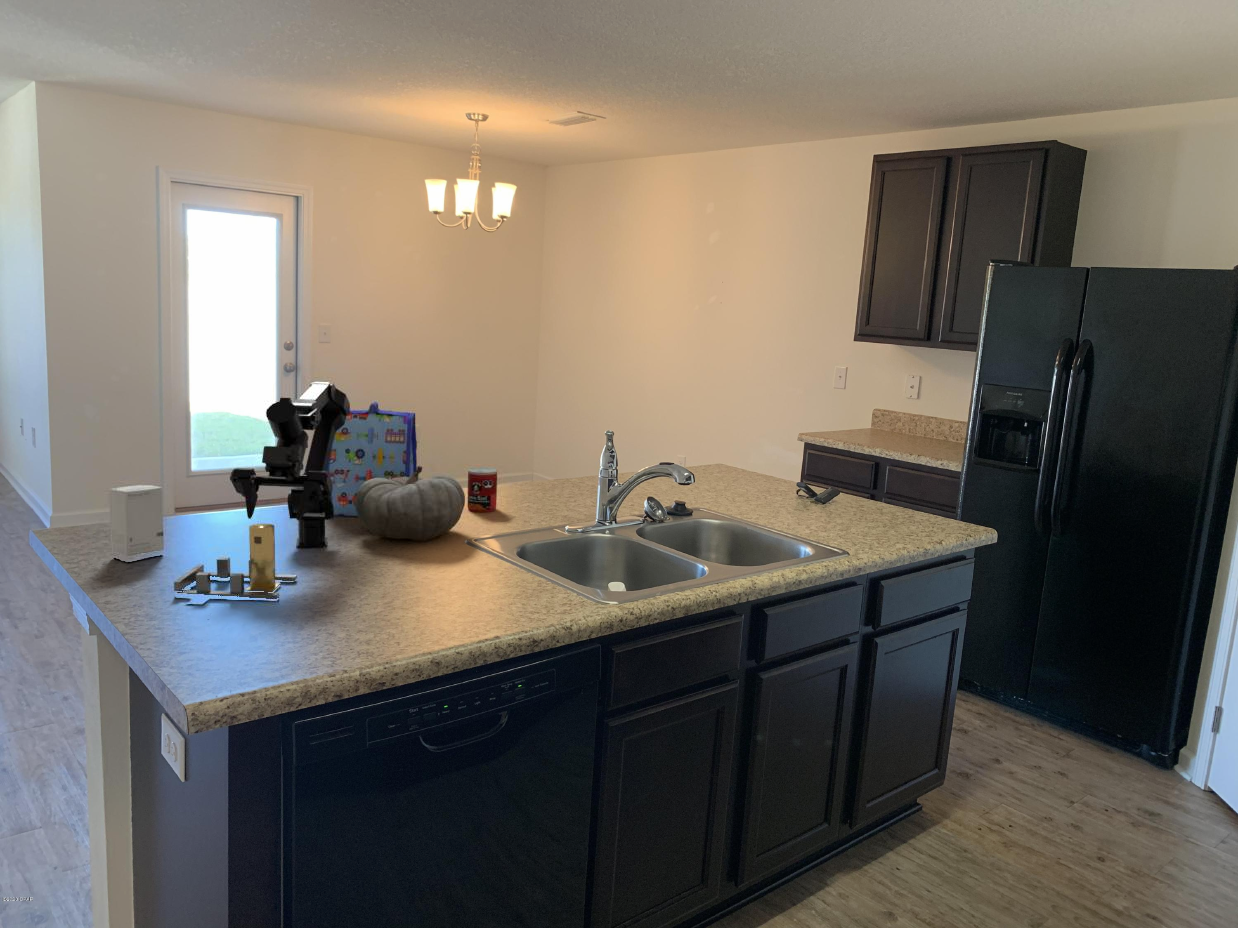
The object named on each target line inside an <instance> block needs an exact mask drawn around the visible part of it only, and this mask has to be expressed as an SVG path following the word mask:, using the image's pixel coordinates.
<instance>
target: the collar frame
mask: <svg viewBox="0 0 1238 928" xmlns="http://www.w3.org/2000/svg"><path fill="white" fill-rule="evenodd" d="M204 568H205V567H204V564H197V565H196V566H194V567H192V568H191V569H190V570H189V571H187V572H185V573H183V575H181V576H180V577H179V578H177V579H176V580H174V581H173V590H174V591H182V592H177V593H187V594H204V595H218V596H219V595H220V596H237V597H238V596H239V597H249V598H266V599H277V598H279V599H280V592H275V593H268V592H245V582H244V578H249V579H250V559H248V572H247V573H246V572H245V573H243V572H242V573H239V572H236V573H235V572H231V557H221V556H220V557H218V558H216V570H217V571H216V572H209V571H206V572H205V569H204ZM210 576H212V577H214V576H215V577H220V578H228V577H230V581H229V591H228V590H226V591H225V590H224V591H223V590H212V586H211V583H212V581H211V580H210ZM296 579H297V580H298V574H276V573H275V580H282V581H294V582H295V580H296ZM194 581H196V586H195V588H196V589H193V590H192V589H191V590H182V589H184V588H185V587H186V586H188V585H190V584H191V583H193V582H194ZM295 583H296V582H295ZM174 591H173V592H174ZM183 591H184V592H183Z"/></svg>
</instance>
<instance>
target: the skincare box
mask: <svg viewBox="0 0 1238 928" xmlns="http://www.w3.org/2000/svg"><path fill="white" fill-rule="evenodd" d="M108 492H109V493H108V495H109V497H108V498H109V514H110V515H109V518H110V519H109V520H110V521H109V522H110V545H111V552H112V551H113V552H116V553H119V554H121V555H124V556H132V555H137V554H141V553H148V552H153V551H161V550H164V551H165V548H164V547H165V546H164V545H165V543H164V540H165V539H164V519H163V518H164V514H163V512H164V510H163V507H164V506H163V487H162V486H157V485H151V484H139V485H129V486H120V487H114V488H109V489H108Z"/></svg>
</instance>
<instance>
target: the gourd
mask: <svg viewBox="0 0 1238 928" xmlns="http://www.w3.org/2000/svg"><path fill="white" fill-rule="evenodd" d="M421 472H423V467H422V466H420V465H418V466H417V471H415V472H414V474H412V475H411V477H398V478H392V479H386V478H374V479H370V480H368V481H366V482H364V483H363V484H362V485H361V486H360V488H359V489H358V492H357V495H356V500H355V507H356V511H357V514H358V516H357V517H358V518H359V520H360V522H361V523H362V525H364V527H365V528H366V529H367V530H368V531H370V533H371V534H373V535H374V536H377V537H380V538H392V539H393V538H394V539H397V540H402V539H405V540H406V539H410V540H412V541H416V542H418V541H419V542H424V541H428V540H431V539H435V538H436V537H437V536H441V535H444V534H445V533H447V532H449V531H450V530H452V529H453V528H454V527H455V526H456V525H457V524H458V522H459V520H460V519H461V516H462V513H463V512H464V508H465V505H466V495H465V491H464V489H463V488H462V486H461V484H460V483H459V482H458V481H457V480H456V479H455V478H453V477H451V476H450V475H445V474H436V475H433V476H431V477H428V478H421V477H419V475H420V474H421Z"/></svg>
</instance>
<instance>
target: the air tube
mask: <svg viewBox="0 0 1238 928" xmlns="http://www.w3.org/2000/svg"><path fill="white" fill-rule="evenodd" d="M248 533H249V535H248V541H249V542H248V543H249V560H250V585H249V586H248V587H247V588H246V589H245V590H247V591H264V592H273V591H274V590H275V589H276V588H277V587H278V586H279V585H280V584H281V585H282V583H276V582H275V574H276V546H275V545H276V544H275V543H276V542H275V541H276V540H275V537H276V536H275V525H274V523H273V524H272V523H254V524H250V525H249V526H248Z"/></svg>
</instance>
